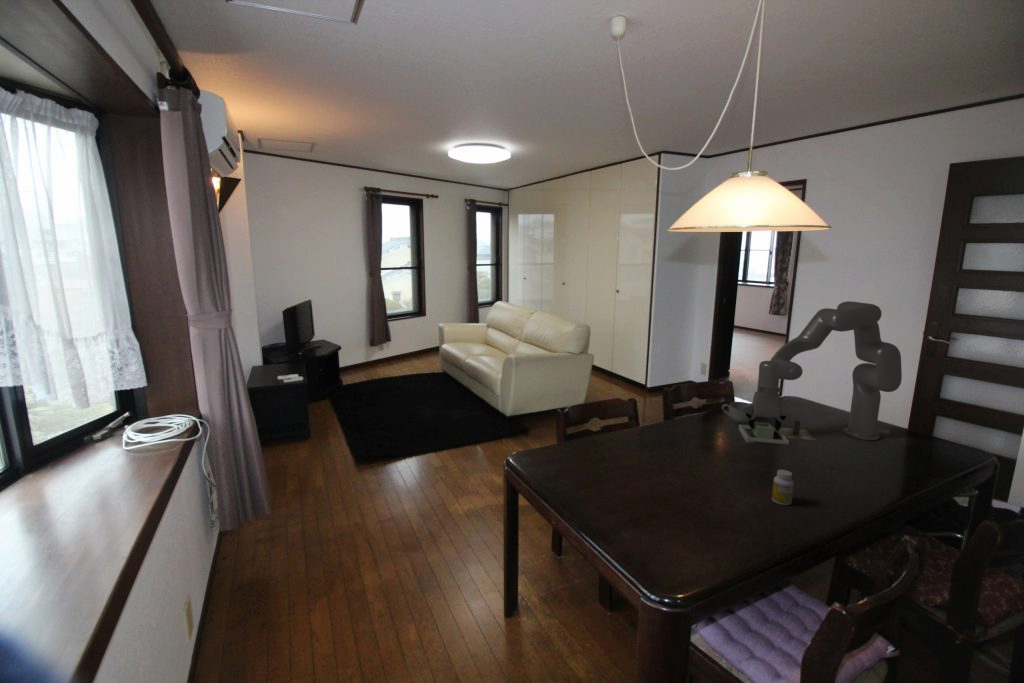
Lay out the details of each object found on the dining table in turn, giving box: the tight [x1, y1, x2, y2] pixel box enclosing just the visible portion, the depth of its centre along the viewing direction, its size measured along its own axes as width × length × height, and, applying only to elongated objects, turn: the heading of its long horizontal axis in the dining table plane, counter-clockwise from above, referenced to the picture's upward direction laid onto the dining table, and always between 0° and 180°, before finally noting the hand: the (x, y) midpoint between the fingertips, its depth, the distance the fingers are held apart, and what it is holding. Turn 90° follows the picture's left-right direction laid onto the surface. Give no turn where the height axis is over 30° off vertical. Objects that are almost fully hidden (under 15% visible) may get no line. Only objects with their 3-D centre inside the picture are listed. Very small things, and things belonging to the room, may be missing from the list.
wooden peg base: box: [779, 420, 817, 441], centre depth 195 cm, size 12×12×6 cm
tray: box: [738, 424, 790, 445], centre depth 193 cm, size 16×16×2 cm
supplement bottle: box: [771, 469, 795, 506], centre depth 141 cm, size 5×5×10 cm
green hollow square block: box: [752, 421, 775, 439], centre depth 193 cm, size 6×6×5 cm
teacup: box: [721, 401, 752, 424], centre depth 213 cm, size 14×11×8 cm
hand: (764, 429), depth 193 cm, fingers open, 9 cm apart
